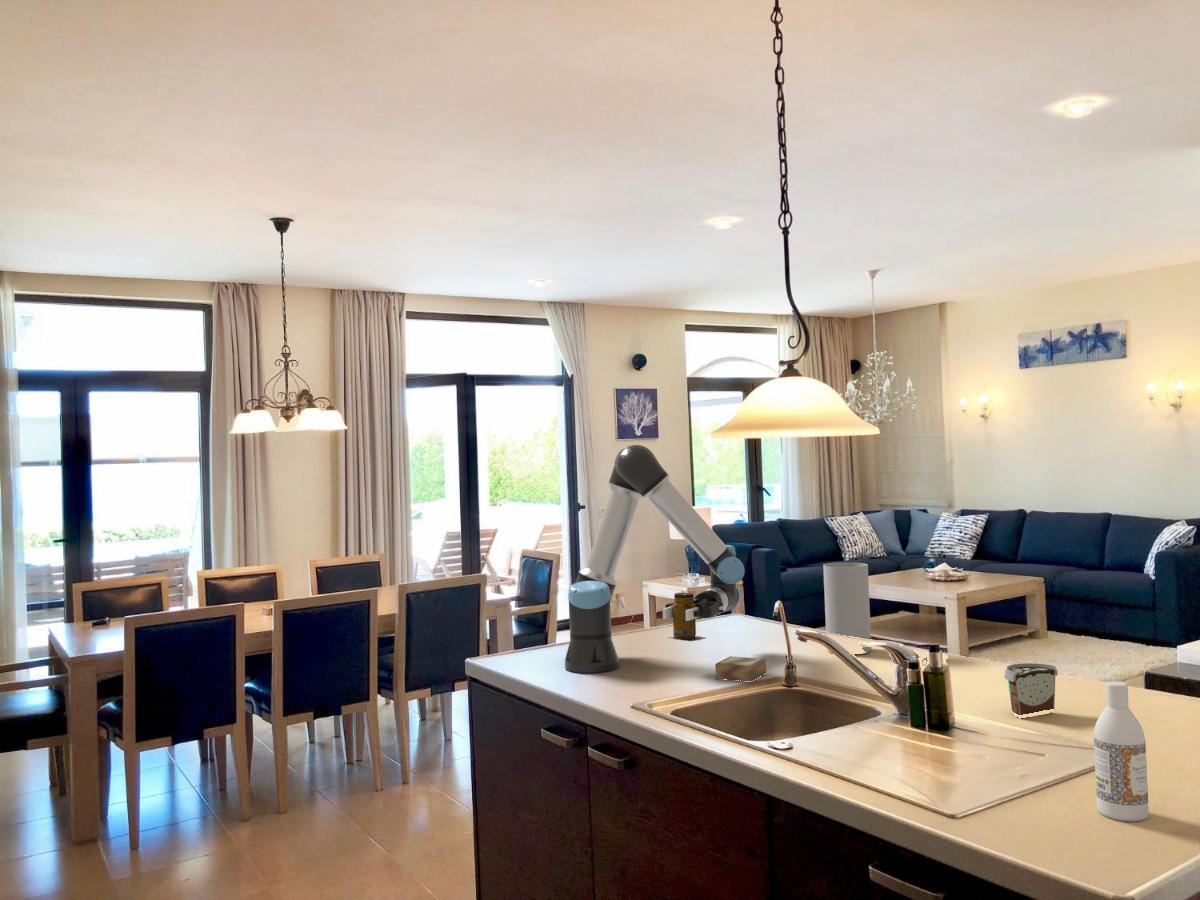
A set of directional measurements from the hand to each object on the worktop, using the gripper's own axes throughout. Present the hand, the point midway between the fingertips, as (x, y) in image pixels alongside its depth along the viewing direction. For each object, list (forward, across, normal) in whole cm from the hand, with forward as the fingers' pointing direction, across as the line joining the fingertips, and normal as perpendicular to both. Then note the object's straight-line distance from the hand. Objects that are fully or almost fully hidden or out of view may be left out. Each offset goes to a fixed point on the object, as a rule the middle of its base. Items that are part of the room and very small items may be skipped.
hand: (675, 614), depth 247 cm
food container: (+5, -85, -15) cm, 87 cm away
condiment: (-5, -1, -7) cm, 9 cm away
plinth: (-5, -16, -16) cm, 23 cm away
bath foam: (+60, -104, -15) cm, 121 cm away
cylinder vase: (-46, -33, -16) cm, 59 cm away
